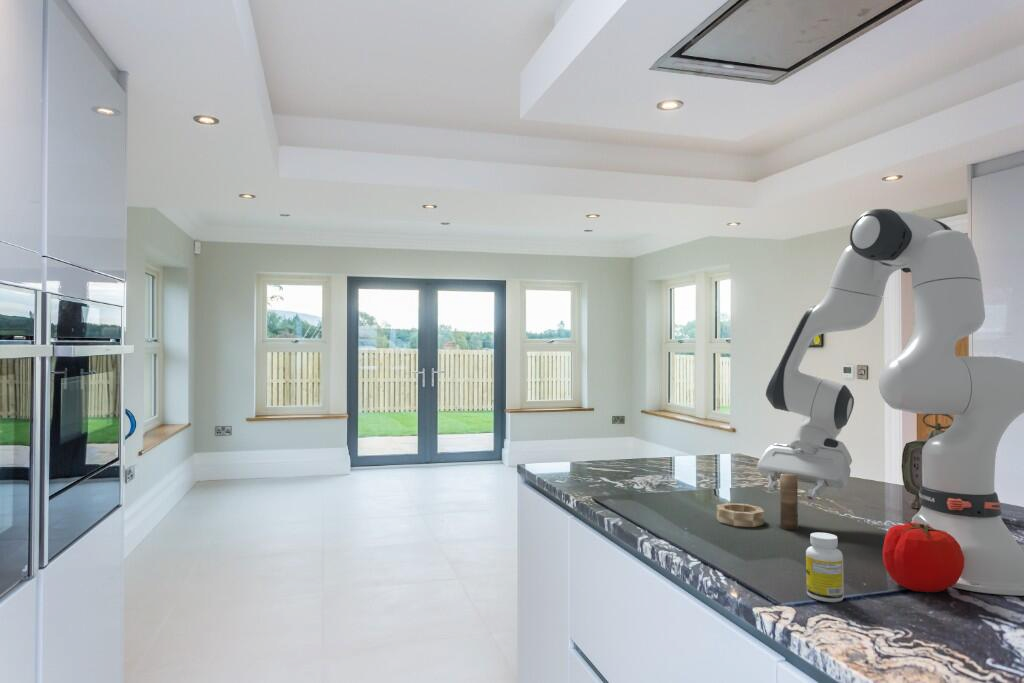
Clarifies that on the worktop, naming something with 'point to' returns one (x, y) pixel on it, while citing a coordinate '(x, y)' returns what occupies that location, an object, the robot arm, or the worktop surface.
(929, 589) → the tomato
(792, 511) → the brown wooden cylinder
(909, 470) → the tabletop clock
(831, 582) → the supplement bottle
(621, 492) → the worktop surface
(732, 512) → the wooden octagonal ring
